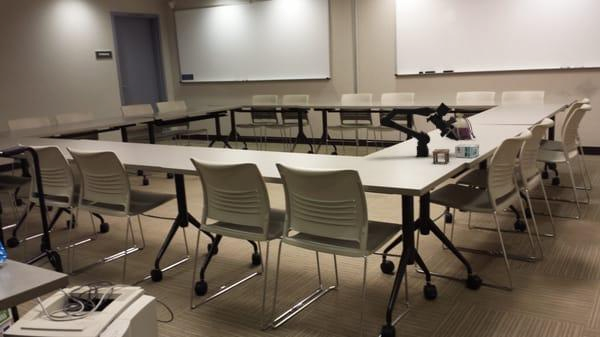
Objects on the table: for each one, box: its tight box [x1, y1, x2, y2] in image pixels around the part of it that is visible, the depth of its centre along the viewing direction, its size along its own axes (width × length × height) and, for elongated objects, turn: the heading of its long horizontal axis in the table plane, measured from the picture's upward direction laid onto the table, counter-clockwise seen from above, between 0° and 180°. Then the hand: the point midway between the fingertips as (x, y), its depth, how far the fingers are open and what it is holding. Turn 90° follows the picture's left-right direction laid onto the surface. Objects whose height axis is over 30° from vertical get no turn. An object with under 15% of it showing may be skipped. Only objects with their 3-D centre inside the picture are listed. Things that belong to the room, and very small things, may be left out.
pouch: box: [453, 112, 476, 140], centre depth 370 cm, size 25×8×19 cm, turn 44°
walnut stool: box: [431, 148, 450, 165], centre depth 293 cm, size 8×8×7 cm
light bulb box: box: [454, 143, 480, 159], centre depth 306 cm, size 11×7×11 cm
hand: (458, 140), depth 309 cm, fingers closed
